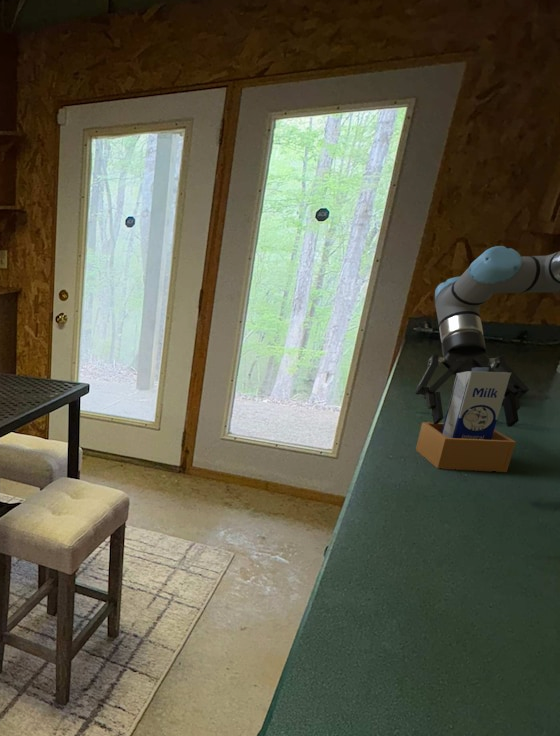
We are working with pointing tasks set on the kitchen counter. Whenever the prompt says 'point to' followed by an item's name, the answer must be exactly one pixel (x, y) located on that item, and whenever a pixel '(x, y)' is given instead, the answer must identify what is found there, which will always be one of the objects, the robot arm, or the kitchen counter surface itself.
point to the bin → (464, 450)
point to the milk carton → (475, 404)
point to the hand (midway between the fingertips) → (475, 422)
